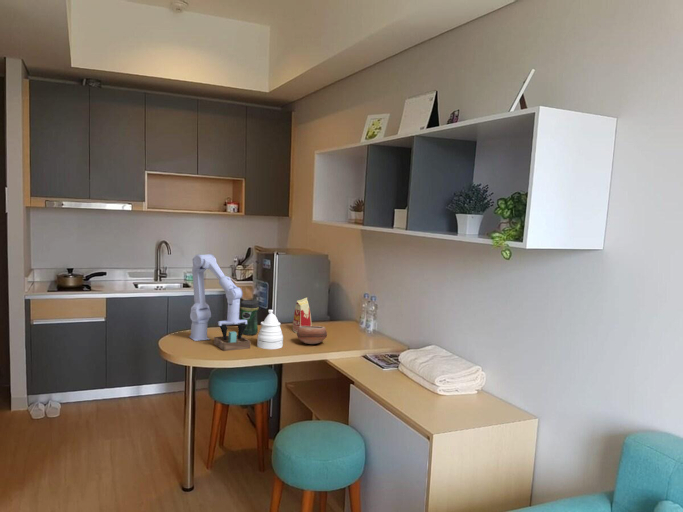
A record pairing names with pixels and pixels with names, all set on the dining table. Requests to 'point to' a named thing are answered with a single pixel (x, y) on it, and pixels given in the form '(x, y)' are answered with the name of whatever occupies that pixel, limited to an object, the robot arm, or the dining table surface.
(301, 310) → the milk carton
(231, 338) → the peg
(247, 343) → the socket box
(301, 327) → the bowl
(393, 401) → the dining table surface
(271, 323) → the honey pot
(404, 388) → the dining table surface
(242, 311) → the coffee jar
